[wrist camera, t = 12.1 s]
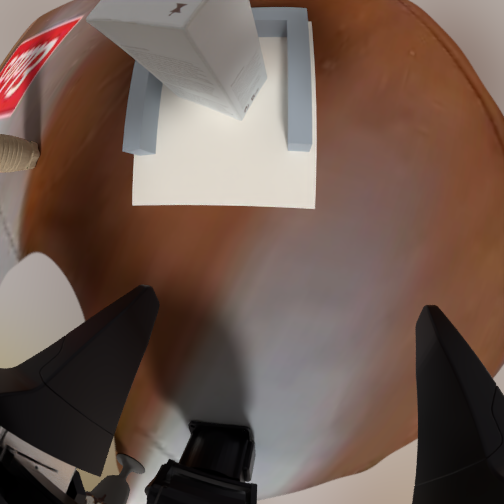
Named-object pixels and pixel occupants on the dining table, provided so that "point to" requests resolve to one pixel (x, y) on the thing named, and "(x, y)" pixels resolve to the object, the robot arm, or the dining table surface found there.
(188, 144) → the stop cradle
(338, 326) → the dining table surface
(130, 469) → the sundae
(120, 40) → the skincare box
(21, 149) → the handle
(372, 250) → the dining table surface
